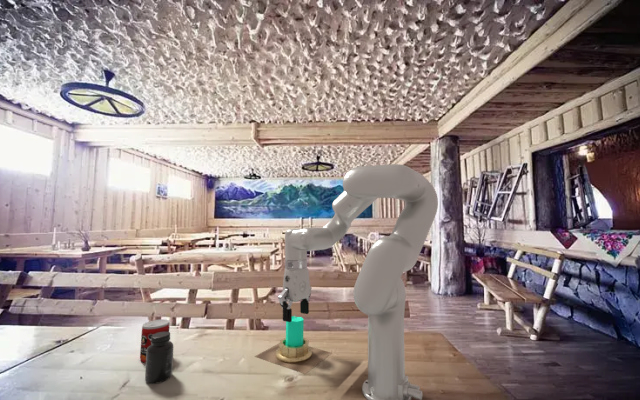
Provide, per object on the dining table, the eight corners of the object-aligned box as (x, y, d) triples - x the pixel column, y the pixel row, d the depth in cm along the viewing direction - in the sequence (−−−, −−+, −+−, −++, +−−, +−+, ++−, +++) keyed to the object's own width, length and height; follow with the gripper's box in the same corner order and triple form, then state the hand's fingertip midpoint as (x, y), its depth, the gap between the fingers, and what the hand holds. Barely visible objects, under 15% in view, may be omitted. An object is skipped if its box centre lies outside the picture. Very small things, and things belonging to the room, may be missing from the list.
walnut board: (331, 357, 92) (332, 352, 93) (305, 379, 79) (305, 373, 79) (285, 344, 103) (285, 339, 103) (254, 361, 89) (254, 356, 89)
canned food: (134, 359, 90) (137, 324, 91) (158, 350, 97) (160, 317, 98) (148, 365, 86) (151, 328, 87) (172, 355, 93) (174, 321, 94)
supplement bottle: (166, 369, 84) (168, 328, 85) (176, 377, 79) (178, 333, 81) (140, 378, 78) (143, 334, 80) (149, 387, 74) (153, 341, 75)
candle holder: (318, 352, 93) (318, 339, 93) (297, 367, 83) (298, 353, 83) (290, 344, 99) (290, 332, 100) (267, 357, 89) (268, 344, 89)
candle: (300, 356, 87) (301, 317, 89) (282, 354, 89) (283, 316, 90) (305, 348, 93) (306, 312, 95) (288, 346, 95) (289, 310, 96)
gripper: (289, 268, 85) (289, 326, 83) (318, 262, 99) (319, 312, 97) (270, 267, 89) (270, 322, 86) (301, 262, 103) (302, 309, 101)
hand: (296, 317), depth 92 cm, fingers open, 9 cm apart
